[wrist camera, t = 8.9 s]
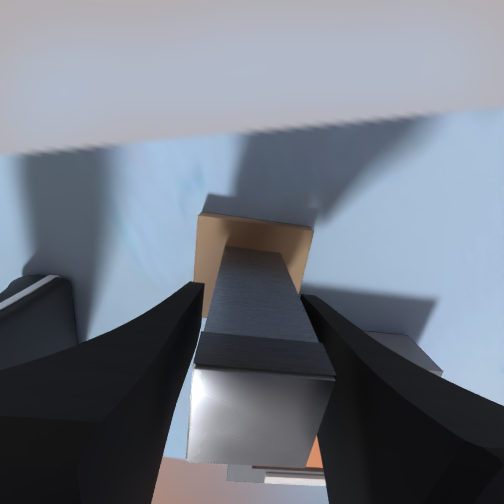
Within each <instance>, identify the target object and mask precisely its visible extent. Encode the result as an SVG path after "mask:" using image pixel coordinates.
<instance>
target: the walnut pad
mask: <svg viewBox="0 0 504 504" xmlns="http://www.w3.org/2000/svg"><path fill="white" fill-rule="evenodd" d="M313 233H314V231H313V230H312V229H311V228H310V227H307V226H300V225H293V224H286V223H278V222H271V221H264V220H257V219H249V218H242V217H235V216H228V215H220V214H213V213H206V212H201V213H200V214H199V215H198V222H197V236H196V251H195V265H194V280H193V282H199V283H205V287H204V298H203V310H202V317H204V318H207V316H208V312H209V308H210V304H211V300H212V296H213V292H214V288H215V284H216V279H217V275H218V271H219V267H220V263H221V259H222V255H223V251H224V247H225V246H230V247H238V248H246V249H254V250H262V251H270V252H277V253H281V255H282V257H283V260H284V262H285V264H286V267H287V269H288V271H289V274H290V276H291V278H292V281H293V283H294V285H295V288H296V290H297V292H298V295H299V291H300V287H301V283H302V278H303V274H304V270H305V266H306V262H307V258H308V254H309V249H310V245H311V241H312V237H313Z"/></svg>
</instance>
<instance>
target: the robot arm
mask: <svg viewBox="0 0 504 504" xmlns="http://www.w3.org/2000/svg"><path fill="white" fill-rule="evenodd" d="M204 287H205V283H199V282H189V283H187V284H186V285H184V286H183V287H182V288H180V289H179V290H178V291H176V292H175V293H174V294H172V295H171V296H170V297H168V298H167V299H165V300H164V301H163V302H161V303H160V304H158V305H157V306H155V307H153V308H152V309H150V310H149V311H147V312H145V313H144V314H142V315H140V316H139V317H137V318H135V319H133V320H131V321H130V322H128V323H126V324H124V325H122V326H120V327H118V328H116V329H113V330H111V331H109V332H107V333H104V334H102V335H100V336H97V337H95V338H93V339H90V340H88V341H85V342H83V343H81V344H78V345H76V346H73V347H70V348H68V349H65V350H62V351H59V352H56V353H54V354H51V355H48V356H45V357H42V358H39V359H36V360H33V361H29V362H26V363H23V364H20V365H17V366H13V367H10V368H6V369H2V370H0V504H151V501H152V497H153V493H154V489H155V485H156V481H157V477H158V472H159V468H160V464H161V460H162V456H163V452H164V448H165V444H166V440H167V436H168V433H169V429H170V425H171V421H172V417H173V413H174V410H175V407H176V403H177V400H178V397H179V394H180V391H181V389H182V386H183V383H184V380H185V377H186V374H187V372H188V369H189V366H190V363H191V360H192V357H193V354H194V352H195V349H196V345H197V341H198V337H199V332H200V328H201V321H202V310H203V298H204ZM300 299H301V302H302V304H303V306H304V309H305V311H306V313H307V316H308V318H309V320H310V323H311V325H312V327H313V330H314V332H315V334H316V337H317V339H318V341H319V343H322V344H323V346H324V348H325V350H326V353H327V355H328V357H329V359H330V362H331V364H332V366H333V368H334V371H335V373H336V375H337V376H336V379H335V384H334V387H333V390H332V393H331V395H330V398H329V401H328V404H327V407H326V410H325V413H324V415H323V418H322V421H321V424H320V427H319V430H318V433H317V439H318V444H319V449H320V454H321V460H322V465H323V471H324V477H325V482H326V488H327V493H328V500H329V504H504V406H502V405H500V404H498V403H495V402H493V401H491V400H488V399H486V398H484V397H482V396H480V395H477V394H475V393H473V392H471V391H468V390H466V389H464V388H462V387H460V386H458V385H456V384H454V383H451V382H449V381H447V380H445V379H443V378H441V377H439V376H437V375H435V374H434V373H432V372H430V371H428V370H426V369H424V368H422V367H420V366H418V365H416V364H415V363H413V362H411V361H409V360H407V359H406V358H404V357H402V356H401V355H399V354H397V353H396V352H394V351H392V350H391V349H389V348H387V347H386V346H384V345H383V344H381V343H379V342H378V341H376V340H375V339H373V338H372V337H371V336H369V335H368V334H366V333H365V332H363V331H362V330H361V329H359V328H358V327H356V326H355V325H354V324H352V323H351V322H350V321H348V320H347V319H346V318H344V317H343V316H342V315H341V314H339V313H338V312H337V311H335V310H334V309H333V308H332V307H330V306H329V305H328V304H326V303H325V302H324V301H322V300H321V299H319V298H318V297H316V296H313V295H304V294H301V297H300Z"/></svg>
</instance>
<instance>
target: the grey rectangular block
mask: <svg viewBox="0 0 504 504" xmlns="http://www.w3.org/2000/svg"><path fill="white" fill-rule="evenodd" d="M336 376H337V375H336V373H335V371H334V368H333V366H332V364H331V362H330V359H329V357H328V355H327V353H326V350H325V348H324V346H323V344H322V343H319V341H318V339H317V337H316V334H315V332H314V330H313V327H312V325H311V323H310V320H309V318H308V316H307V313H306V311H305V309H304V306H303V304H302V302H301V299H300V297H299V295H298V292H297V290H296V288H295V285H294V283H293V281H292V278H291V276H290V274H289V271H288V269H287V267H286V264H285V262H284V260H283V257H282V255H281V253H277V252H270V251H262V250H254V249H246V248H238V247H230V246H225V247H224V251H223V255H222V259H221V263H220V267H219V271H218V275H217V279H216V284H215V288H214V292H213V296H212V300H211V304H210V308H209V312H208V316H207V320H206V324H205V328H204V332H203V331H201V335H200V339H199V343H198V346H197V350H196V354H195V358H194V362H193V372H192V385H191V398H190V411H189V423H188V436H187V449H186V459H187V462H194V463H213V464H232V465H251V466H270V467H289V468H305V467H306V464H307V461H308V458H309V455H310V453H311V450H312V447H313V444H314V441H315V438H316V435H317V433H318V430H319V427H320V424H321V421H322V418H323V415H324V413H325V410H326V407H327V404H328V401H329V398H330V395H331V393H332V390H333V387H334V384H335V379H336Z"/></svg>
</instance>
